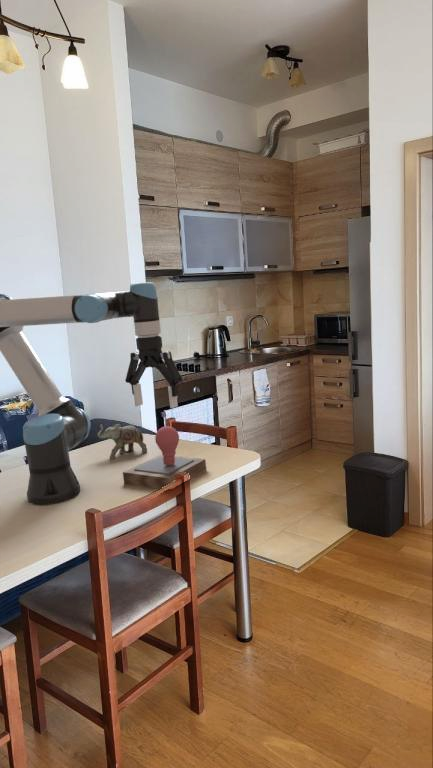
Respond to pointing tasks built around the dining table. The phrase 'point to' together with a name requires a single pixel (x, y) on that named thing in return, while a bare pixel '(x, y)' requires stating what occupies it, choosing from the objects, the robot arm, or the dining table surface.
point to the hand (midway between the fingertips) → (156, 406)
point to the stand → (162, 471)
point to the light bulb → (167, 443)
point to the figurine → (123, 438)
